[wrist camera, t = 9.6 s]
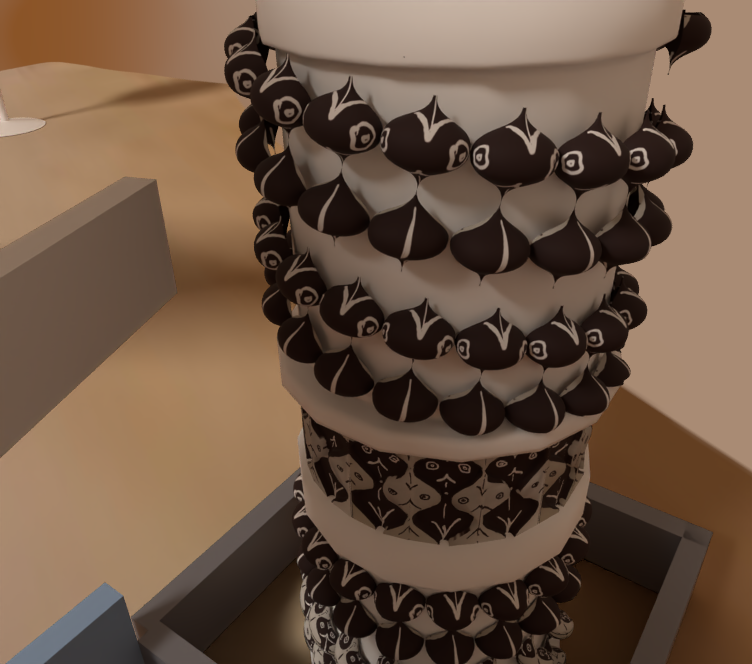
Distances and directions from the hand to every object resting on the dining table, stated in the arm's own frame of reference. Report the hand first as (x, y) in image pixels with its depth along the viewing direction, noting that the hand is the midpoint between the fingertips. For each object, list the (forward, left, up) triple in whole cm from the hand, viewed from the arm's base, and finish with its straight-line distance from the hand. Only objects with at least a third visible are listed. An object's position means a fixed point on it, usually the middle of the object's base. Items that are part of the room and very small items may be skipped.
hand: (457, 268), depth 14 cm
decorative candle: (+2, +1, -15) cm, 15 cm away
